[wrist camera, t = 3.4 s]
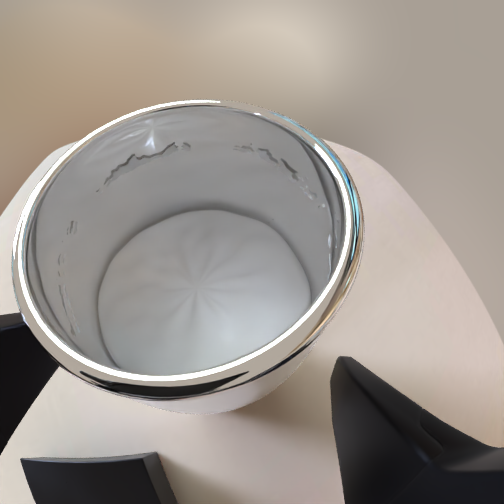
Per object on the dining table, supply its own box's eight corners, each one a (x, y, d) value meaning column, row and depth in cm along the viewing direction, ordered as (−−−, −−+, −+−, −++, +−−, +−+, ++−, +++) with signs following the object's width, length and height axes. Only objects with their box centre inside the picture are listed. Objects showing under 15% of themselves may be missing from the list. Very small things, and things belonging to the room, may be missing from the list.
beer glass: (288, 396, 16) (447, 330, 3) (180, 419, 15) (-10, 413, 2) (260, 300, 19) (292, 86, 7) (162, 319, 18) (48, 132, 6)
